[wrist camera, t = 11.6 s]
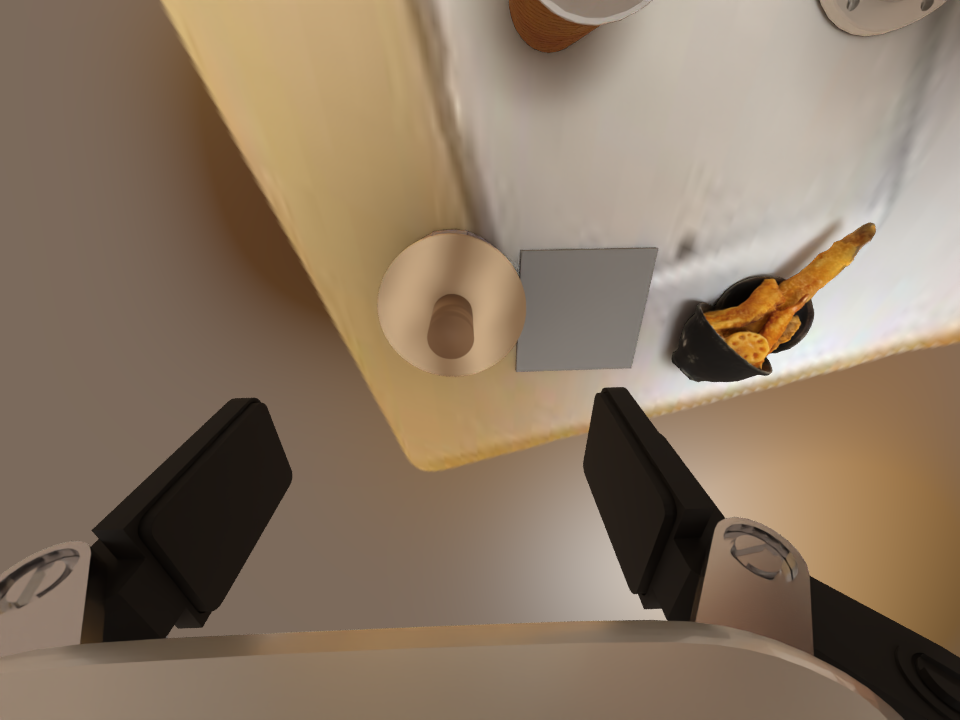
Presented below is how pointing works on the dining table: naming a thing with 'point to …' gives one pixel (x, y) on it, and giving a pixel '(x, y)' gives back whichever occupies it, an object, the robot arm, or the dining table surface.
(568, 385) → the dining table surface
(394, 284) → the lid
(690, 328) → the black dish with food
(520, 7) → the disposable coffee cup
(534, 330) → the mat
